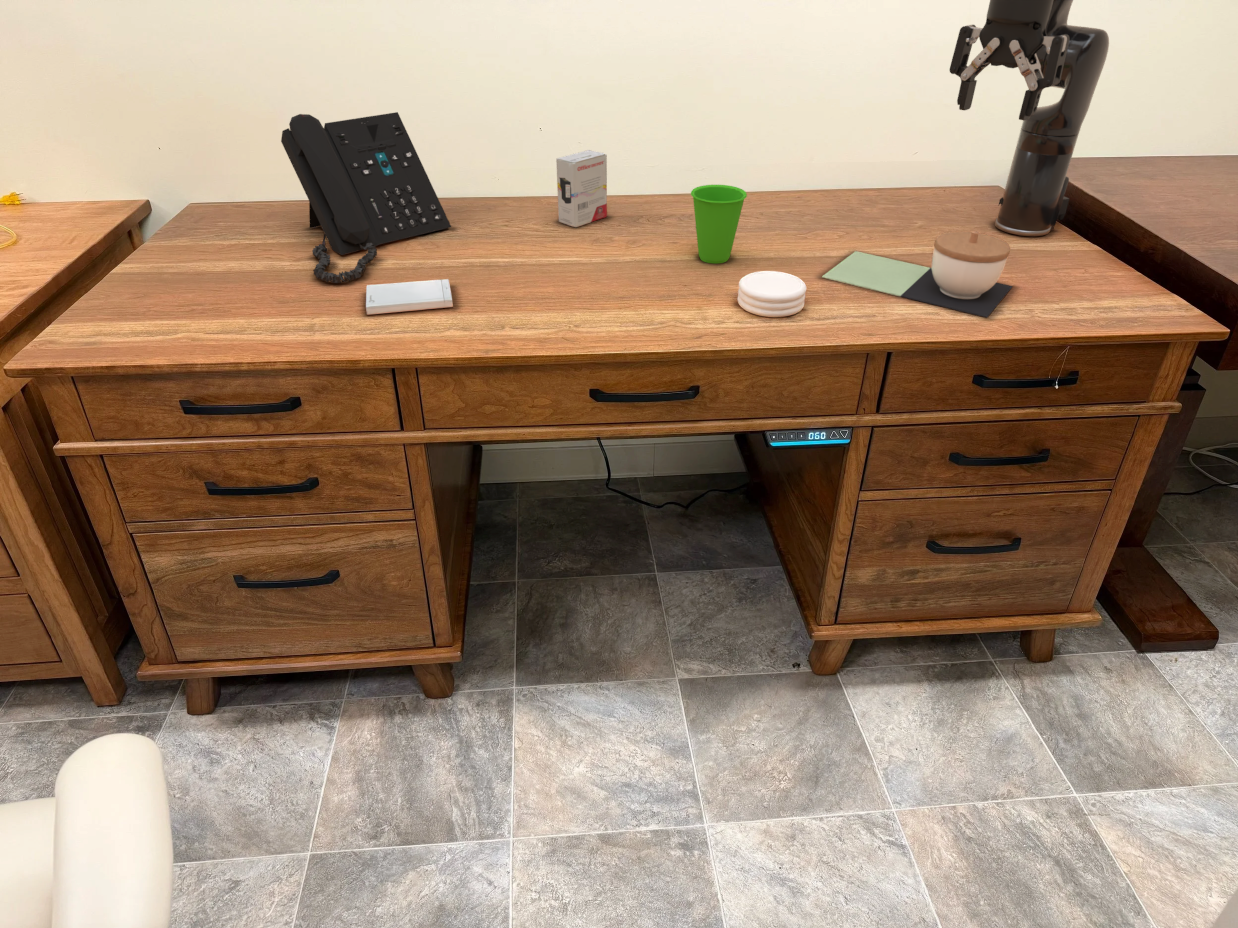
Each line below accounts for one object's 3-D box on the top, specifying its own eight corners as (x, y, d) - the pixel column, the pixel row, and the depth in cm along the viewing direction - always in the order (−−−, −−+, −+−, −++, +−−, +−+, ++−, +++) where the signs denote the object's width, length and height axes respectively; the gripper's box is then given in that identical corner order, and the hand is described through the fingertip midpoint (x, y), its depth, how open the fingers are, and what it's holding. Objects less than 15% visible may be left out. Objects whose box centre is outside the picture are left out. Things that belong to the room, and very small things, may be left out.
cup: (738, 270, 137) (744, 203, 131) (683, 265, 138) (687, 199, 132) (743, 250, 144) (749, 186, 138) (690, 246, 146) (694, 183, 139)
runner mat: (1012, 287, 131) (1012, 286, 131) (987, 318, 122) (987, 316, 122) (855, 252, 144) (855, 251, 144) (821, 277, 134) (821, 276, 134)
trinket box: (999, 285, 132) (1016, 226, 126) (994, 310, 124) (1011, 249, 118) (929, 273, 135) (942, 216, 130) (919, 298, 127) (933, 238, 122)
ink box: (590, 211, 161) (589, 148, 154) (608, 217, 158) (608, 153, 152) (557, 222, 156) (555, 157, 149) (575, 228, 153) (573, 162, 146)
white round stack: (731, 292, 129) (732, 270, 127) (794, 290, 130) (796, 268, 128) (744, 319, 121) (747, 297, 119) (811, 317, 122) (815, 295, 120)
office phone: (328, 289, 130) (300, 155, 118) (256, 241, 147) (226, 120, 136) (486, 245, 146) (475, 124, 134) (404, 206, 163) (388, 96, 152)
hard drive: (365, 306, 121) (452, 298, 123) (366, 284, 127) (448, 276, 130) (367, 316, 122) (453, 308, 124) (368, 294, 128) (449, 286, 131)
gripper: (1095, -19, 104) (1056, 118, 113) (986, -26, 112) (958, 102, 122) (1071, -15, 100) (1032, 128, 109) (959, -23, 108) (932, 110, 117)
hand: (993, 114), depth 115 cm, fingers open, 8 cm apart
